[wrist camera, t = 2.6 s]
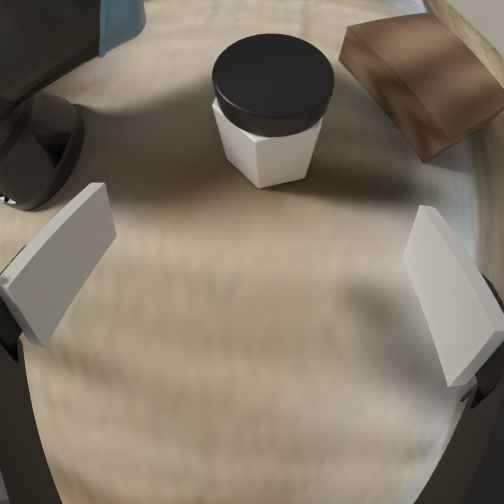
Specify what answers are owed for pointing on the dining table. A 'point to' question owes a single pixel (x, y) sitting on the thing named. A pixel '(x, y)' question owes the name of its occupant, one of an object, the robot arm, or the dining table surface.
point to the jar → (271, 105)
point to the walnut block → (423, 79)
